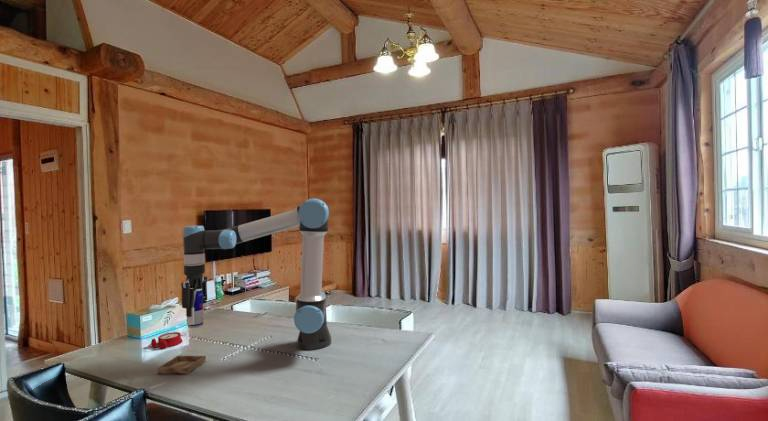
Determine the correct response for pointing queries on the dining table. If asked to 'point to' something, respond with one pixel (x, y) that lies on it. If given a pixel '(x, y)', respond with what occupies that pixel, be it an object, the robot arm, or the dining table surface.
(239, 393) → the dining table surface
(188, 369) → the tray
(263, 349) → the dining table surface
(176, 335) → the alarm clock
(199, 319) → the beverage can
